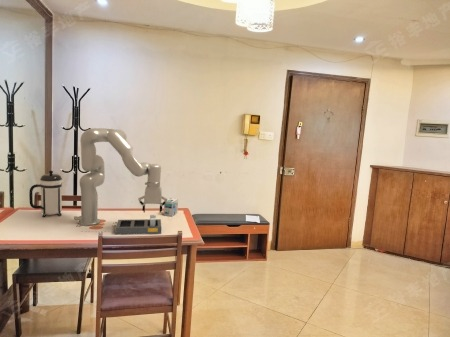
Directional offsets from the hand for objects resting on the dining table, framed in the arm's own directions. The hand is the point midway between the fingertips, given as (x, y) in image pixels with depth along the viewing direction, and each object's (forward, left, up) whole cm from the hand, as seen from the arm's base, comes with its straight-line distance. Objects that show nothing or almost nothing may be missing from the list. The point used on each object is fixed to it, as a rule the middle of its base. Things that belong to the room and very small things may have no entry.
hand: (152, 212), depth 201 cm
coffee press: (-66, +33, -11) cm, 75 cm away
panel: (0, 0, -10) cm, 10 cm away
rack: (-7, 0, -11) cm, 13 cm away
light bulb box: (+14, +33, -11) cm, 37 cm away
